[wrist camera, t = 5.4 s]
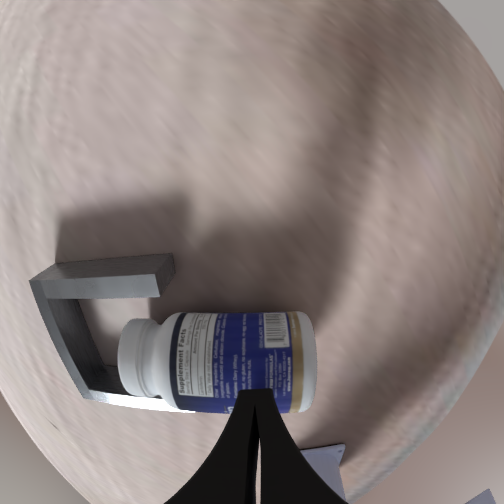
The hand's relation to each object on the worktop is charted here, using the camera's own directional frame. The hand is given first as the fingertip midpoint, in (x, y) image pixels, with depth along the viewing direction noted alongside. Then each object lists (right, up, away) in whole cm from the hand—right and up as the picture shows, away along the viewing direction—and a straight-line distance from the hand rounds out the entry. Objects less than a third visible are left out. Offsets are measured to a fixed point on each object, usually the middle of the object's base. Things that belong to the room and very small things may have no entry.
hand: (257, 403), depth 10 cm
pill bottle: (+3, 0, +3) cm, 5 cm away
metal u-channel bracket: (-8, +1, +6) cm, 10 cm away
